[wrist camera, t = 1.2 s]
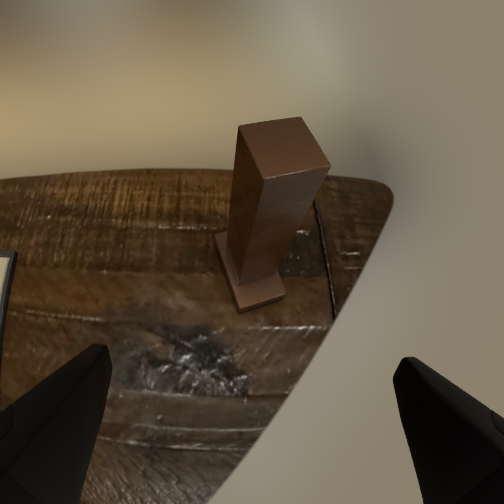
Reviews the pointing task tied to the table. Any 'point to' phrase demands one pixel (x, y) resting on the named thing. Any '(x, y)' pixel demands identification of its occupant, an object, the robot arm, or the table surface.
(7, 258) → the whiteboard
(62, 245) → the table surface
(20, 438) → the robot arm
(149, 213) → the table surface
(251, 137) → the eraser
